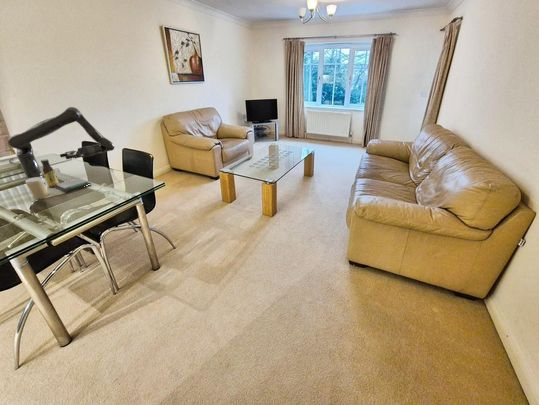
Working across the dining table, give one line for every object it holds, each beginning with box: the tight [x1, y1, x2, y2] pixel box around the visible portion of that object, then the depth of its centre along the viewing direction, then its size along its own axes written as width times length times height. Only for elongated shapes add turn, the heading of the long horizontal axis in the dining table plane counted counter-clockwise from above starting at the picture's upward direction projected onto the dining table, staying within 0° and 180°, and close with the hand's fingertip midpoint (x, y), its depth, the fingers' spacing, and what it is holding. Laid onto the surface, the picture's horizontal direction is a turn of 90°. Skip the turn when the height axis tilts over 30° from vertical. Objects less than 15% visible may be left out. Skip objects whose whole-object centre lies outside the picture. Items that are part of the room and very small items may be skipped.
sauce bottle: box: [40, 159, 60, 189], centre depth 178 cm, size 7×6×20 cm
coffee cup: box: [24, 176, 50, 199], centre depth 166 cm, size 9×9×12 cm
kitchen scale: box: [54, 177, 92, 194], centre depth 181 cm, size 16×16×3 cm
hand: (63, 156), depth 183 cm, fingers open, 8 cm apart
